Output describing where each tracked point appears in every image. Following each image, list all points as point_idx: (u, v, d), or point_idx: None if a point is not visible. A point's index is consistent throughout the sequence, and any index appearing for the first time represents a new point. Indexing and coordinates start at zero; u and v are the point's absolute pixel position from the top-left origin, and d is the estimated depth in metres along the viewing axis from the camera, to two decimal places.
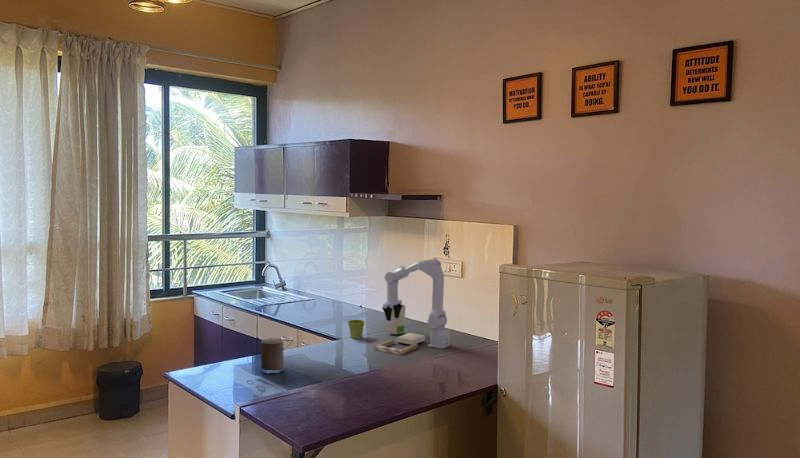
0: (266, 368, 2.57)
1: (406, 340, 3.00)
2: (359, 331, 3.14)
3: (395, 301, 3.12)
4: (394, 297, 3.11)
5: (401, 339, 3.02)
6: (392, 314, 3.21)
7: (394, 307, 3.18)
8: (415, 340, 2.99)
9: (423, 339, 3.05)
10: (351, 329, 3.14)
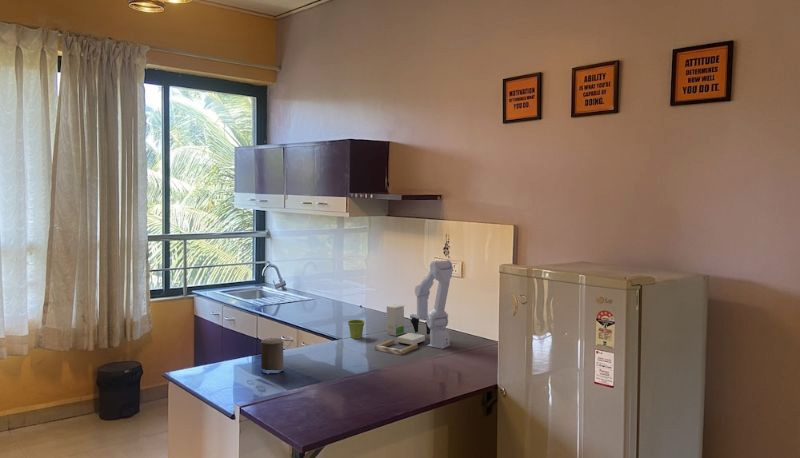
0: (266, 368, 2.57)
1: (406, 340, 3.00)
2: (359, 331, 3.14)
3: (418, 315, 3.11)
4: (417, 310, 3.11)
5: (401, 339, 3.02)
6: (391, 316, 3.20)
7: None
8: (415, 340, 2.99)
9: (423, 339, 3.05)
10: (351, 329, 3.14)
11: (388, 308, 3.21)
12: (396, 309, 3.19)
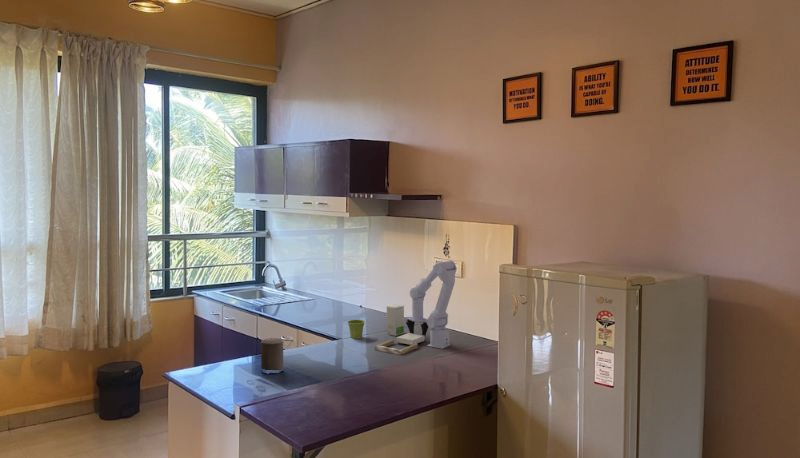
0: (266, 368, 2.57)
1: (405, 340, 3.00)
2: (359, 331, 3.14)
3: (413, 317, 3.08)
4: (412, 313, 3.08)
5: (400, 339, 3.01)
6: (391, 316, 3.20)
7: None
8: (414, 340, 2.99)
9: (422, 339, 3.05)
10: (351, 329, 3.14)
11: (388, 308, 3.21)
12: (396, 309, 3.19)
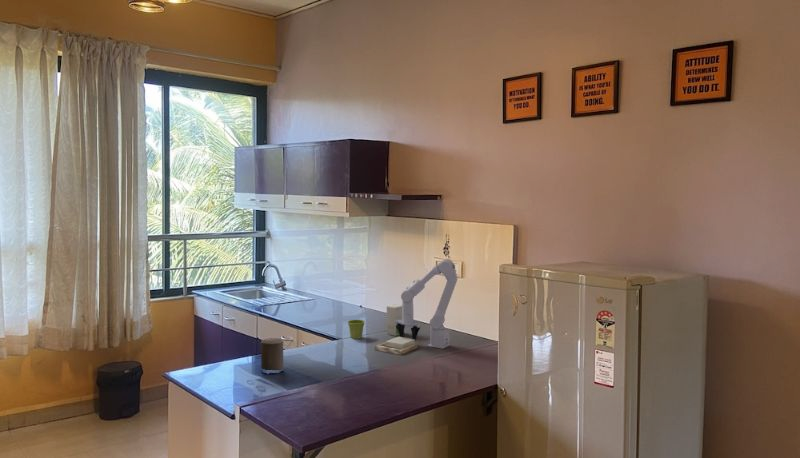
0: (266, 368, 2.57)
1: (395, 344, 2.92)
2: (359, 331, 3.14)
3: (403, 321, 3.00)
4: (402, 316, 3.01)
5: (389, 343, 2.94)
6: (391, 316, 3.20)
7: None
8: (404, 344, 2.91)
9: (412, 343, 2.97)
10: (351, 329, 3.14)
11: (388, 308, 3.21)
12: (396, 309, 3.19)
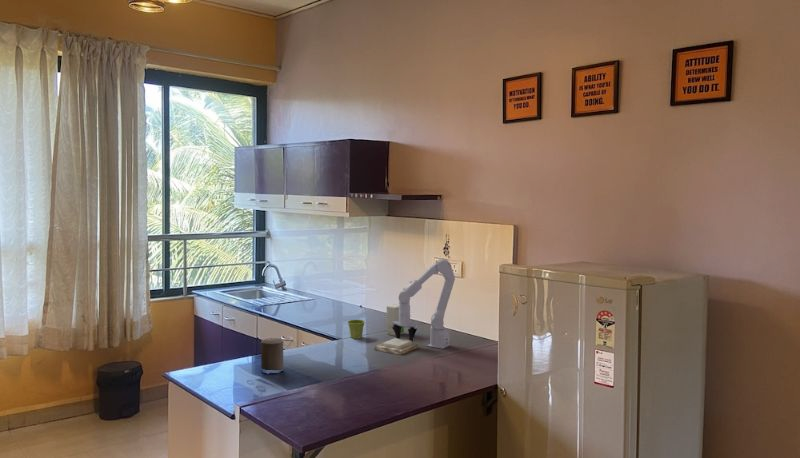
0: (266, 368, 2.57)
1: (392, 346, 2.89)
2: (359, 331, 3.14)
3: (400, 322, 2.98)
4: (399, 317, 2.98)
5: (386, 345, 2.91)
6: (391, 316, 3.20)
7: None
8: (401, 346, 2.89)
9: (409, 344, 2.95)
10: (351, 329, 3.14)
11: (388, 308, 3.21)
12: (396, 309, 3.19)
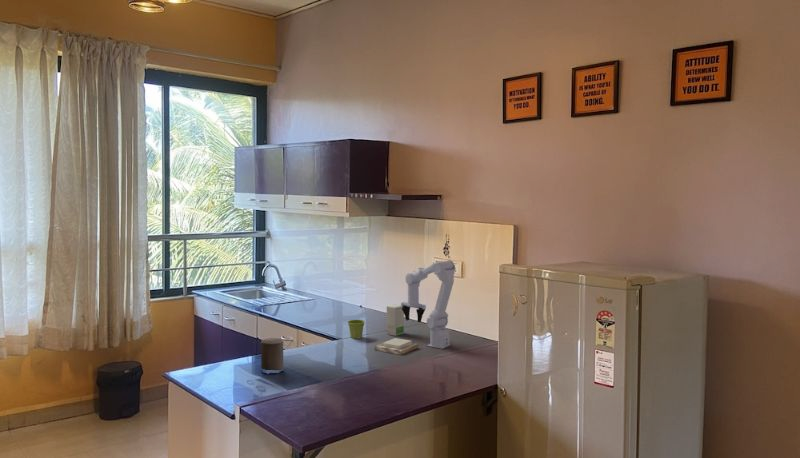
0: (266, 368, 2.57)
1: (392, 346, 2.89)
2: (359, 331, 3.14)
3: (409, 303, 3.11)
4: (408, 298, 3.11)
5: (386, 345, 2.91)
6: (391, 316, 3.20)
7: None
8: (401, 346, 2.89)
9: (409, 344, 2.95)
10: (351, 329, 3.14)
11: (388, 308, 3.21)
12: (396, 309, 3.19)
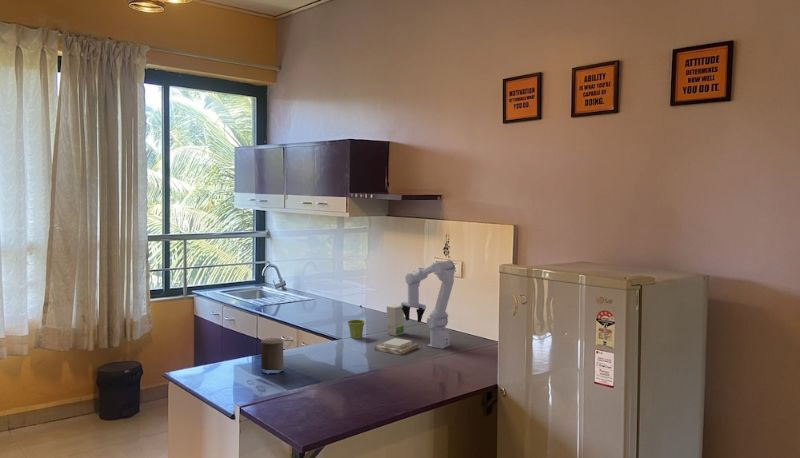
0: (266, 368, 2.57)
1: (392, 346, 2.89)
2: (359, 331, 3.14)
3: (409, 303, 3.11)
4: (408, 298, 3.11)
5: (386, 345, 2.91)
6: (391, 316, 3.20)
7: None
8: (401, 346, 2.89)
9: (409, 344, 2.95)
10: (351, 329, 3.14)
11: (388, 308, 3.21)
12: (396, 309, 3.19)
